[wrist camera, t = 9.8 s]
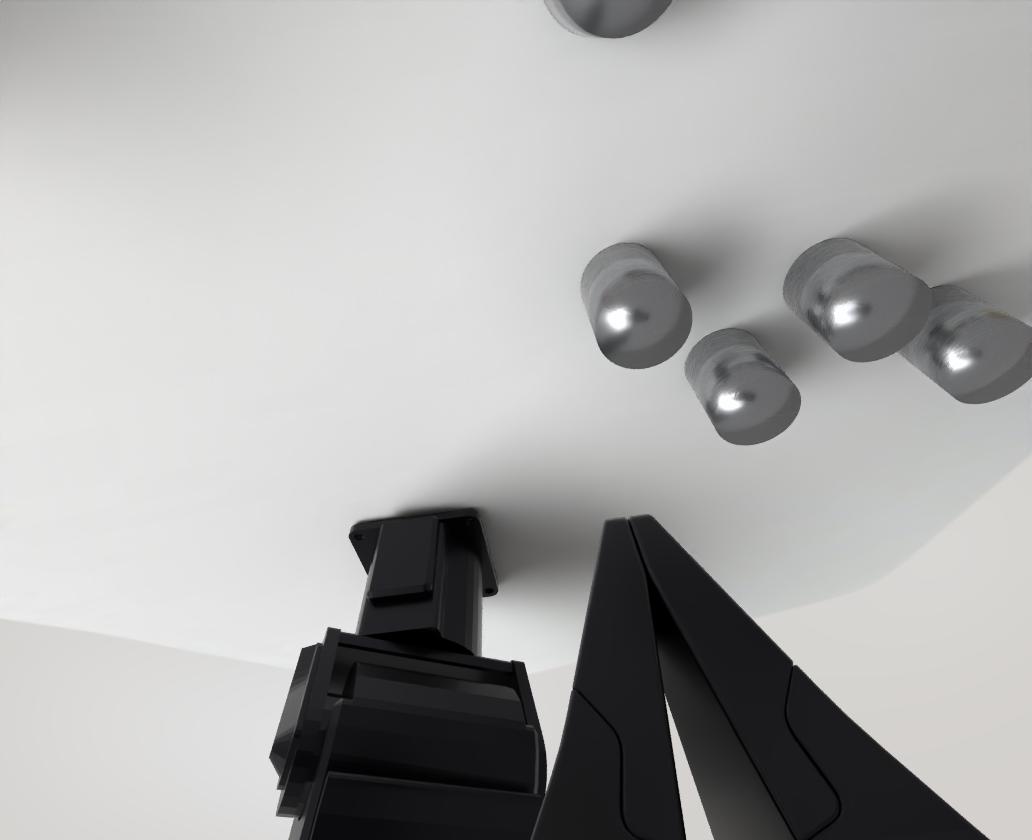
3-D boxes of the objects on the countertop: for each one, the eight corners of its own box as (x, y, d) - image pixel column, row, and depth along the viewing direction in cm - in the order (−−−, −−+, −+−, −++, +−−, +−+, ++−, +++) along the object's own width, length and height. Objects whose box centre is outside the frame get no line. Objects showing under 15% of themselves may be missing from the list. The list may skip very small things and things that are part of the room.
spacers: (962, 358, 22) (1032, 406, 19) (577, 412, 23) (590, 466, 20) (1303, -459, 11) (1597, -634, 8) (514, -291, 11) (522, -396, 9)
